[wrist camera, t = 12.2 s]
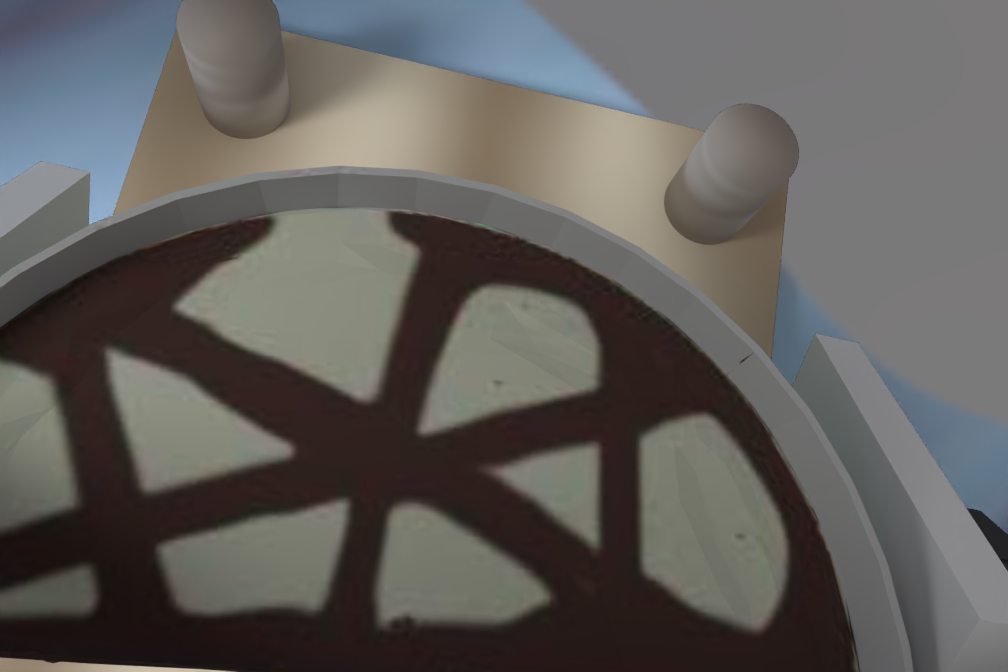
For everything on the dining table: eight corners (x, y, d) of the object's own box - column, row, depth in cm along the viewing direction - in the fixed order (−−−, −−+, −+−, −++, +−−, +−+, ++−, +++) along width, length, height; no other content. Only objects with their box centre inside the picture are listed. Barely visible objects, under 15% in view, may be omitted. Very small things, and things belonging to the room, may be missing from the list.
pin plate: (-141, 1027, 17) (-290, 1146, 13) (190, 32, 23) (156, -84, 19) (674, 1148, 18) (757, 1291, 14) (774, 169, 24) (850, 86, 21)
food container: (671, 383, 21) (930, 189, 12) (668, 678, 19) (971, 736, 10) (93, 324, 19) (-158, 46, 10) (29, 638, 18) (-351, 661, 8)
